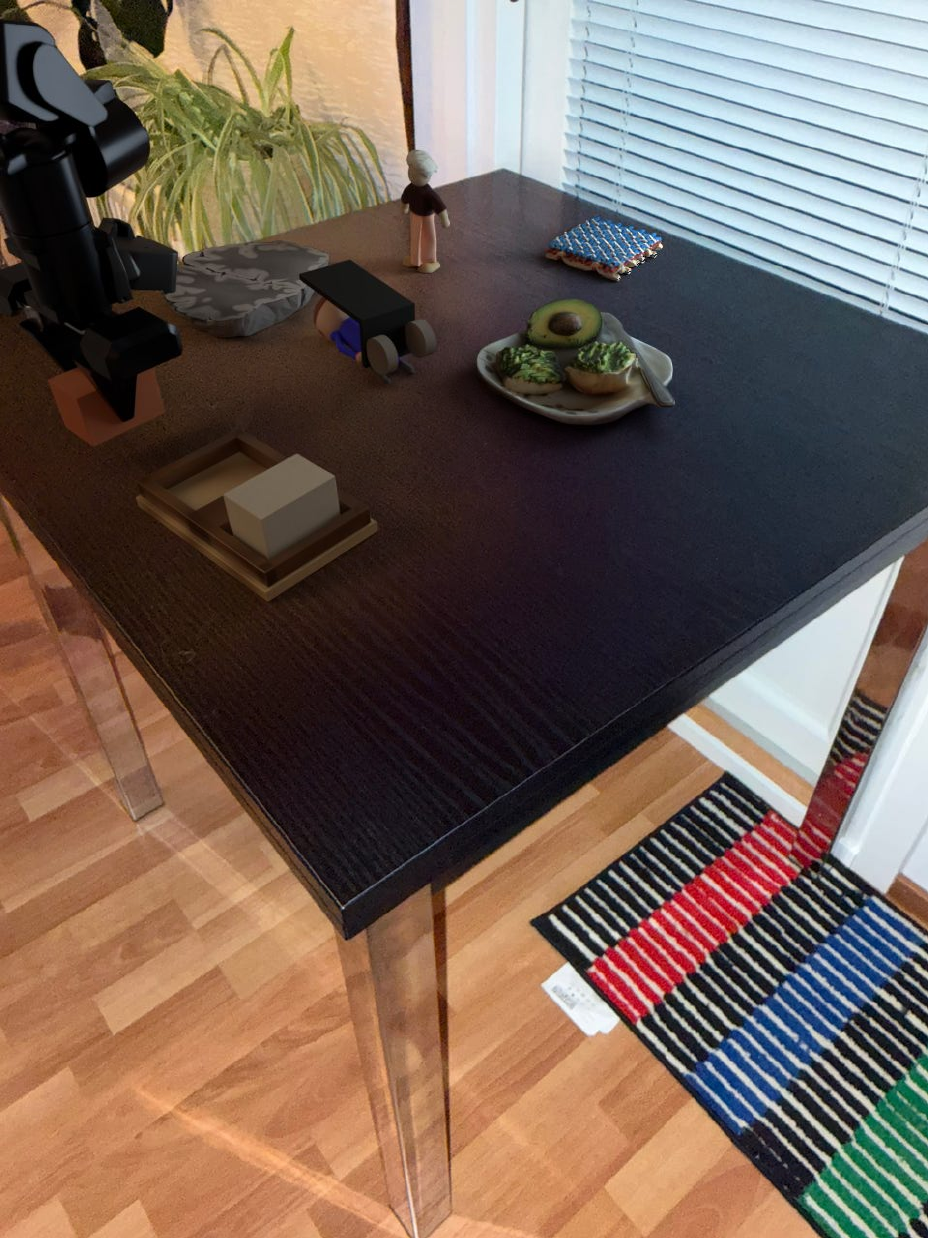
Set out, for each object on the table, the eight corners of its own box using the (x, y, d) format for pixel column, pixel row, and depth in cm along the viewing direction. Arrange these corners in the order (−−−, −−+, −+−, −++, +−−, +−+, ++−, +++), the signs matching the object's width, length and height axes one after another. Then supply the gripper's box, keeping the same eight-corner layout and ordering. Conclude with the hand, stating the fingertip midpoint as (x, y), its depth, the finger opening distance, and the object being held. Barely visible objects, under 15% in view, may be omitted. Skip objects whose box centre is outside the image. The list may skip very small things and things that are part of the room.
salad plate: (728, 391, 87) (737, 346, 84) (591, 462, 79) (595, 415, 76) (585, 317, 98) (588, 275, 95) (451, 373, 90) (450, 329, 87)
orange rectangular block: (93, 447, 76) (76, 399, 73) (65, 427, 78) (47, 379, 75) (165, 412, 80) (152, 365, 76) (136, 394, 82) (122, 347, 79)
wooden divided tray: (378, 531, 73) (375, 506, 71) (267, 602, 67) (261, 577, 66) (246, 449, 82) (241, 425, 80) (138, 506, 76) (130, 481, 74)
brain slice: (231, 254, 111) (226, 229, 109) (353, 279, 105) (350, 253, 103) (121, 325, 98) (113, 298, 96) (252, 358, 93) (247, 330, 91)
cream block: (271, 567, 69) (260, 519, 66) (234, 541, 71) (222, 494, 68) (342, 523, 72) (335, 475, 69) (304, 499, 75) (296, 452, 71)
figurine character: (440, 387, 91) (353, 317, 98) (443, 318, 85) (350, 249, 93) (385, 411, 88) (299, 337, 95) (384, 341, 82) (293, 268, 90)
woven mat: (540, 259, 108) (541, 242, 107) (592, 230, 114) (593, 213, 113) (615, 283, 104) (617, 265, 102) (665, 251, 109) (667, 234, 108)
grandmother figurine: (388, 265, 108) (379, 149, 99) (407, 253, 110) (400, 139, 101) (442, 280, 105) (439, 162, 96) (461, 268, 107) (459, 151, 98)
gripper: (219, 221, 67) (257, 410, 78) (83, 162, 76) (134, 338, 87) (80, 272, 61) (142, 468, 72) (-49, 202, 70) (24, 385, 81)
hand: (112, 409), depth 78 cm, fingers closed on orange rectangular block, 4 cm apart
